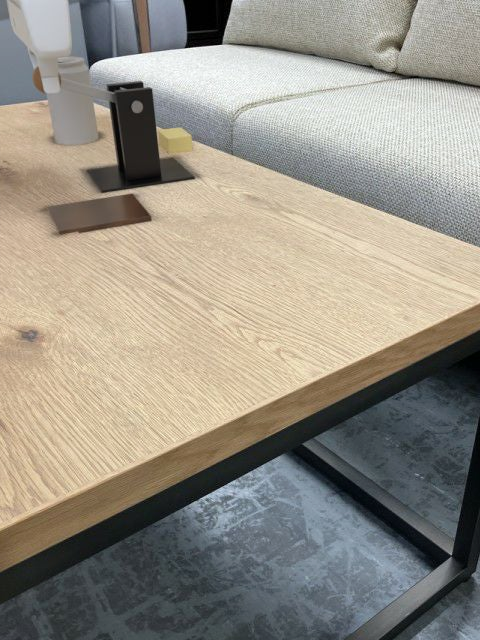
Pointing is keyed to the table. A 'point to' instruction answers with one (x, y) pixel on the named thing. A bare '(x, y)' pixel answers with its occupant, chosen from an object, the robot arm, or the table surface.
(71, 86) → the arm
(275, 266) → the table surface
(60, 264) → the table surface
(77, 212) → the board
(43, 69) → the robot arm
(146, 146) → the black lever stand
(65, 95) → the beverage can
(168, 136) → the butter
